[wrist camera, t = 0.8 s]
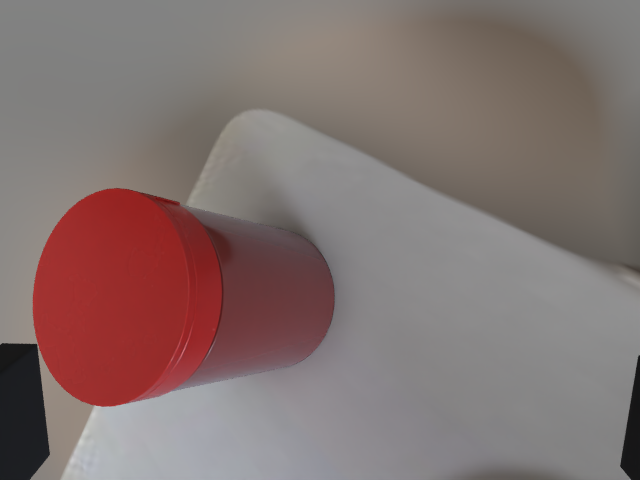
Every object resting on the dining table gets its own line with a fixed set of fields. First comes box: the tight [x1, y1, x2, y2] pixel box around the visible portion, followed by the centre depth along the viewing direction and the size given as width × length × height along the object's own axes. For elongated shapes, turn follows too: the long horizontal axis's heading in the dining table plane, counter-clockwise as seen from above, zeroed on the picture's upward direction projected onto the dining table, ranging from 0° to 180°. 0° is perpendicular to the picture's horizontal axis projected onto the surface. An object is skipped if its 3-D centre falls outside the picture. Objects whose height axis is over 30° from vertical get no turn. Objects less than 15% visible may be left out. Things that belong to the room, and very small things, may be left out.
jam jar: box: [170, 204, 334, 392], centre depth 26 cm, size 8×8×12 cm
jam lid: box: [33, 188, 222, 407], centre depth 21 cm, size 8×8×2 cm
